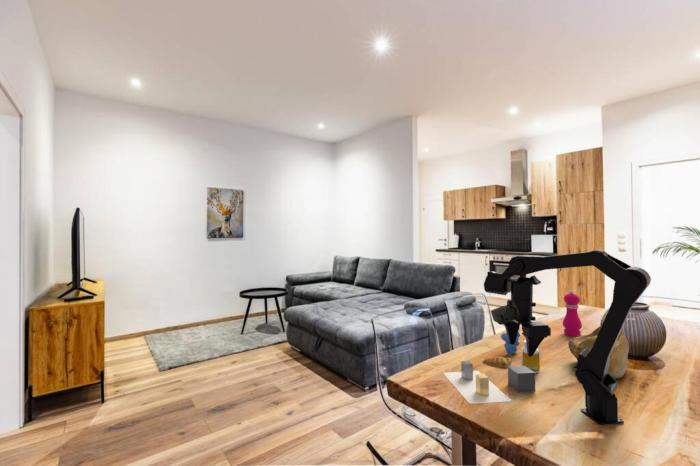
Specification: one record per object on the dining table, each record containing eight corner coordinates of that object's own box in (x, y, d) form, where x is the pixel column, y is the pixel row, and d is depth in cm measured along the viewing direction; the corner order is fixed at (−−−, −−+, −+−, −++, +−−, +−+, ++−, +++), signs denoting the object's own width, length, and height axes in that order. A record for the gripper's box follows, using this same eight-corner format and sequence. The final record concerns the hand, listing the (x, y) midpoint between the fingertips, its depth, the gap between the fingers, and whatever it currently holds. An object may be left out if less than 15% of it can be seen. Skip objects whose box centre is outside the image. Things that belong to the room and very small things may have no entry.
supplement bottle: (542, 374, 111) (541, 344, 111) (524, 373, 112) (524, 343, 112) (536, 367, 116) (536, 339, 116) (519, 366, 117) (519, 338, 117)
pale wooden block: (488, 395, 95) (488, 377, 95) (480, 396, 95) (479, 378, 95) (484, 391, 97) (484, 373, 97) (475, 391, 97) (475, 374, 97)
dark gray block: (535, 395, 97) (535, 372, 97) (518, 396, 96) (517, 373, 96) (524, 387, 102) (524, 365, 102) (508, 388, 102) (507, 366, 101)
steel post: (473, 379, 105) (472, 364, 105) (464, 380, 105) (464, 364, 105) (469, 376, 107) (469, 360, 107) (461, 376, 107) (461, 361, 107)
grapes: (506, 347, 137) (505, 317, 137) (524, 351, 132) (523, 320, 132) (495, 355, 128) (494, 323, 128) (514, 359, 124) (513, 327, 124)
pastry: (482, 369, 116) (482, 358, 116) (483, 362, 122) (482, 352, 122) (512, 373, 112) (512, 362, 112) (511, 366, 119) (511, 355, 119)
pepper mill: (559, 333, 153) (558, 289, 153) (569, 331, 156) (568, 288, 156) (575, 337, 147) (574, 292, 147) (585, 335, 150) (584, 290, 150)
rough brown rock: (582, 355, 129) (577, 316, 129) (638, 364, 115) (632, 321, 116) (556, 374, 114) (551, 329, 115) (616, 387, 101) (610, 337, 102)
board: (512, 405, 92) (512, 401, 92) (469, 408, 91) (469, 403, 91) (478, 374, 112) (478, 370, 112) (443, 376, 111) (443, 372, 111)
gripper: (480, 291, 108) (480, 339, 108) (512, 305, 89) (511, 364, 90) (514, 291, 108) (513, 339, 109) (552, 305, 90) (551, 363, 90)
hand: (520, 350), depth 99 cm, fingers open, 9 cm apart
